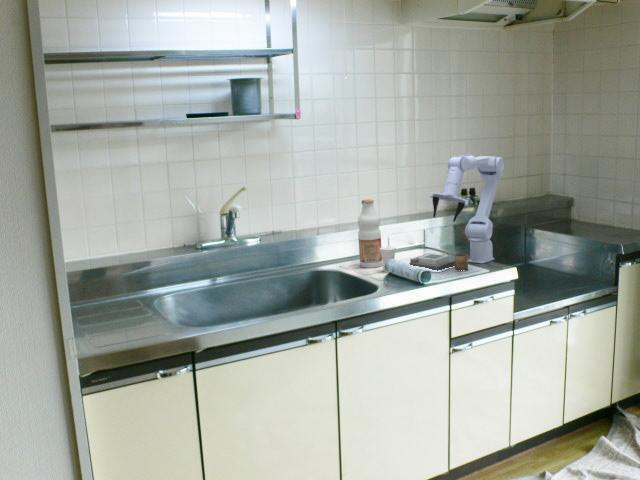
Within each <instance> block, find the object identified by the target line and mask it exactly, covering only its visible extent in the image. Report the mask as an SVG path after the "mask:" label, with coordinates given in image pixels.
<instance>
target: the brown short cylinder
mask: <svg viewBox="0 0 640 480" xmlns="http://www.w3.org/2000/svg"><path fill="white" fill-rule="evenodd" d="M454 259H455V267H454V270H455V269H456V270H460V271H459V272H464V271H463V270H467V271H469V262H468V260H469V256H468V254H467V253H463V252H461V253H460V252H459V253H455V255H454ZM456 270H455V271H456ZM461 270H462V271H461Z"/></svg>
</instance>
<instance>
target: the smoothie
mask: <svg viewBox="0 0 640 480" xmlns="http://www.w3.org/2000/svg"><path fill="white" fill-rule="evenodd" d="M396 249H397V248H396V247H395V246H390V237H389V236H388V237H387V246H381V248H380V251H381V255H382V265H383V267H384V264H385V262H386V261H387V260H389V259H394V260H395V258H396V257H395V256H396ZM383 271H384V272H385V273H388V272H387V271H385V269H384V268H383Z"/></svg>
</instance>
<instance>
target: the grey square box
mask: <svg viewBox="0 0 640 480" xmlns="http://www.w3.org/2000/svg"><path fill="white" fill-rule="evenodd" d="M409 261H410V262H409V263H408V265H409V264H410V265H413V266H419V267H425V268H429V269H432V270H437V271H438V270H442V269H445V268H449V267H453V266H455V258H454V259H453V258H450V256H449V254H448V255H446V254H437V253H431V252H430V253H425V254H422V255H420V256H417V257H413V258H410V259H409ZM453 268H454V267H453Z"/></svg>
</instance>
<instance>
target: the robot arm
mask: <svg viewBox="0 0 640 480" xmlns="http://www.w3.org/2000/svg"><path fill="white" fill-rule="evenodd" d="M475 168H477V170H478V173H479V175H480V178H481V179H482V180H484V185H483V189H482V193H481V196H480V200H479V203H478V207H477V210H476V213H475V216H473V217H471V218H470V219H469V220H468V222H467V224H466V225H465V229H464V233H465V237H466V238H467V240H468V241H469V252H470V253H469V255H470V256H469V257H470V258H468V263H473V264H474V263H476V264H486V263H488V262H491V261H494V260H495V258H494V257H493V256H494V255H493V253H494V251H493V242H492V240H490V239H491V238H492V235H493V227H494V224H493V222H492V221H491V220H490V219H489V217H490V213H491V210H492V206H493V203H494V199H495V196H496V193H497V189H498V185H499V181H500V180H501V179H502V177H503V173H504V169H505V162H504V159H503V158H502V157H501V156H490V155H479V156H474V155H471V153H466V154H465V155H464V154H462V155H461V154H460V155H459V156H452V157H451V158H449V159H448V161H447V170H446V172H447V176H446V181H445V184H444V188H443V192H437V191H436V192H435V191H431V192H430V196H429V198H430V199H431V200H432V205H433V215H432V216H433V218H436V215H437V209H438V206H439V202H440V200H441V201H444V202H450V203H453V204H457V207H456V211H455V214H454V217H453V220H452V222H453V223H456V220H457V217H459V214H460V213H461V212H462V211H463V209H464V208H465V207H468V205H469V201H470V200H469V199H466V198H463V197H459V193H460V189H461V186H462V185H461V184H462V180H463V177H464V173H467V171H470V170H474V169H475Z"/></svg>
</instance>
